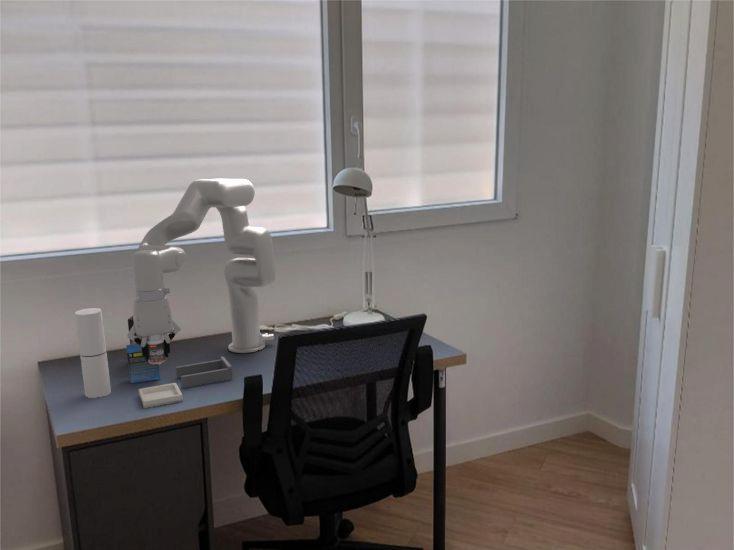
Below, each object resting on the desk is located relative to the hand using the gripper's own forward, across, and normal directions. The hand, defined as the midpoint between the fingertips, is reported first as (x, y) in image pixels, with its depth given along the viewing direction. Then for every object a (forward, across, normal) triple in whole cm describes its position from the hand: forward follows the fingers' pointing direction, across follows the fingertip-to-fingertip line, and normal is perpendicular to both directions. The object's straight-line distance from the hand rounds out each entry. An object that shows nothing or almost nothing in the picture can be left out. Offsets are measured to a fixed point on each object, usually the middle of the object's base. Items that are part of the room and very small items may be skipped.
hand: (156, 356), depth 201 cm
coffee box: (+13, -1, -33) cm, 35 cm away
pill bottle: (+2, 0, 0) cm, 2 cm away
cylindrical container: (+13, +16, -13) cm, 24 cm away
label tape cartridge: (+13, +2, -18) cm, 22 cm away
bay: (+12, -14, -10) cm, 22 cm away
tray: (+13, 0, 0) cm, 13 cm away
